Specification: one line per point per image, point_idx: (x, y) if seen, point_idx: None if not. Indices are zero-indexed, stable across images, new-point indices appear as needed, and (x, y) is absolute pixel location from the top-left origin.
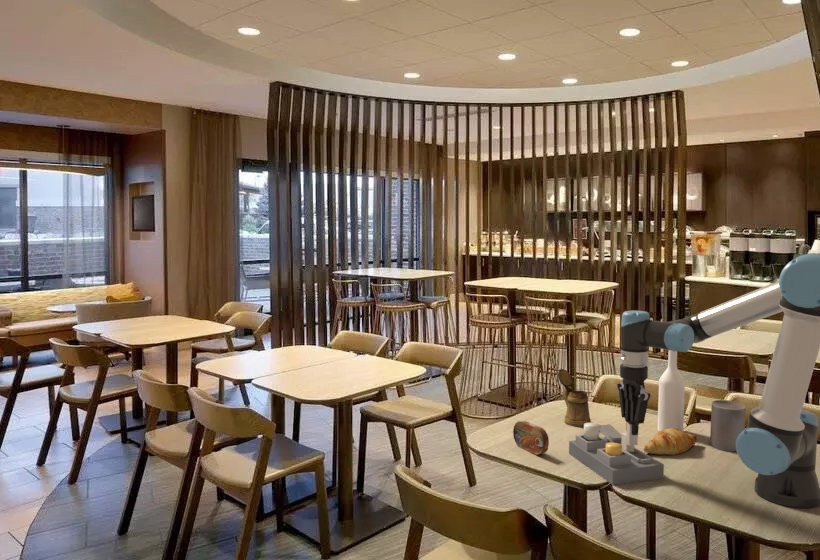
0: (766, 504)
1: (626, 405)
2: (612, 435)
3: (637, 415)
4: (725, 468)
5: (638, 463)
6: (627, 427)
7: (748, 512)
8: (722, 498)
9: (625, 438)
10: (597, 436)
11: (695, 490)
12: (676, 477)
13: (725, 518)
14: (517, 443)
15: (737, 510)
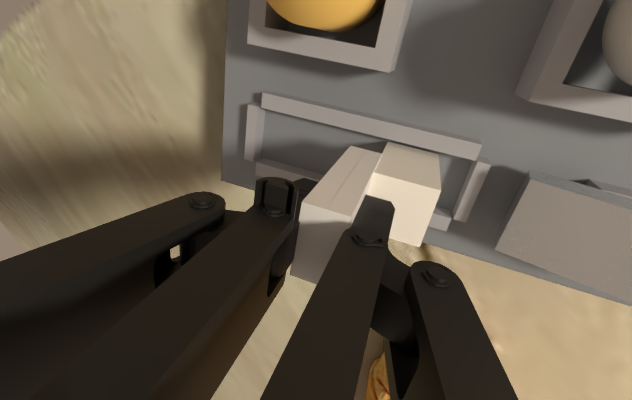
0: None
1: (318, 382)
2: (562, 206)
3: (105, 230)
4: (246, 353)
5: (263, 90)
6: (349, 193)
7: (41, 167)
8: (106, 185)
9: (391, 168)
10: (617, 36)
11: (155, 170)
12: (242, 205)
13: (13, 87)
14: None
15: (50, 155)
